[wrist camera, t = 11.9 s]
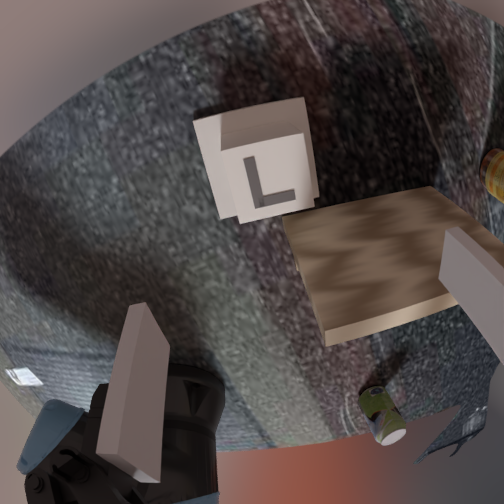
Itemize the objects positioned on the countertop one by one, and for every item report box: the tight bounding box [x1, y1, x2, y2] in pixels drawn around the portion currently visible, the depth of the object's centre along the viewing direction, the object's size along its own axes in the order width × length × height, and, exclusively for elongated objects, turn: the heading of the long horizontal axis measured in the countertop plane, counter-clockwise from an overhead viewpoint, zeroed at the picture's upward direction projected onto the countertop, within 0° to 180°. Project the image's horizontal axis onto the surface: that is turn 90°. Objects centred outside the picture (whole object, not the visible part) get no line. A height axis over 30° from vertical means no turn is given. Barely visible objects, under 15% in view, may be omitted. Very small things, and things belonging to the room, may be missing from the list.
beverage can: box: [358, 386, 406, 446], centre depth 49 cm, size 6×7×12 cm
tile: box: [193, 97, 319, 219], centre depth 28 cm, size 10×10×1 cm
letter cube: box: [221, 121, 315, 224], centre depth 25 cm, size 6×6×6 cm
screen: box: [282, 186, 504, 347], centre depth 27 cm, size 18×6×16 cm, turn 102°
